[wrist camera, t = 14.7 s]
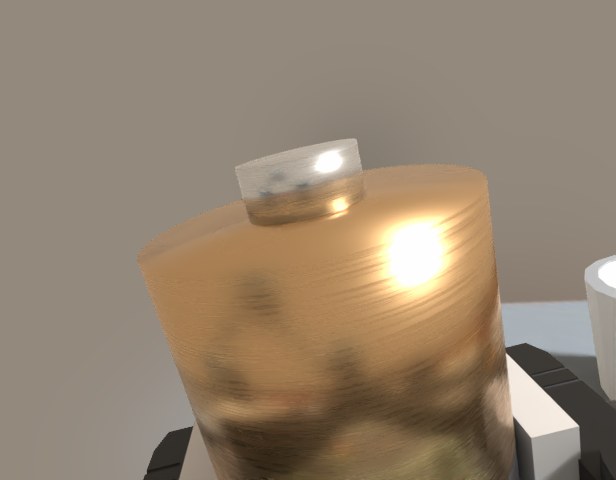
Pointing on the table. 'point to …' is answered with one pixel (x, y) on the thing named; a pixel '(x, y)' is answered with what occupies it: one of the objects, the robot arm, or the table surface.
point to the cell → (341, 322)
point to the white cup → (603, 319)
